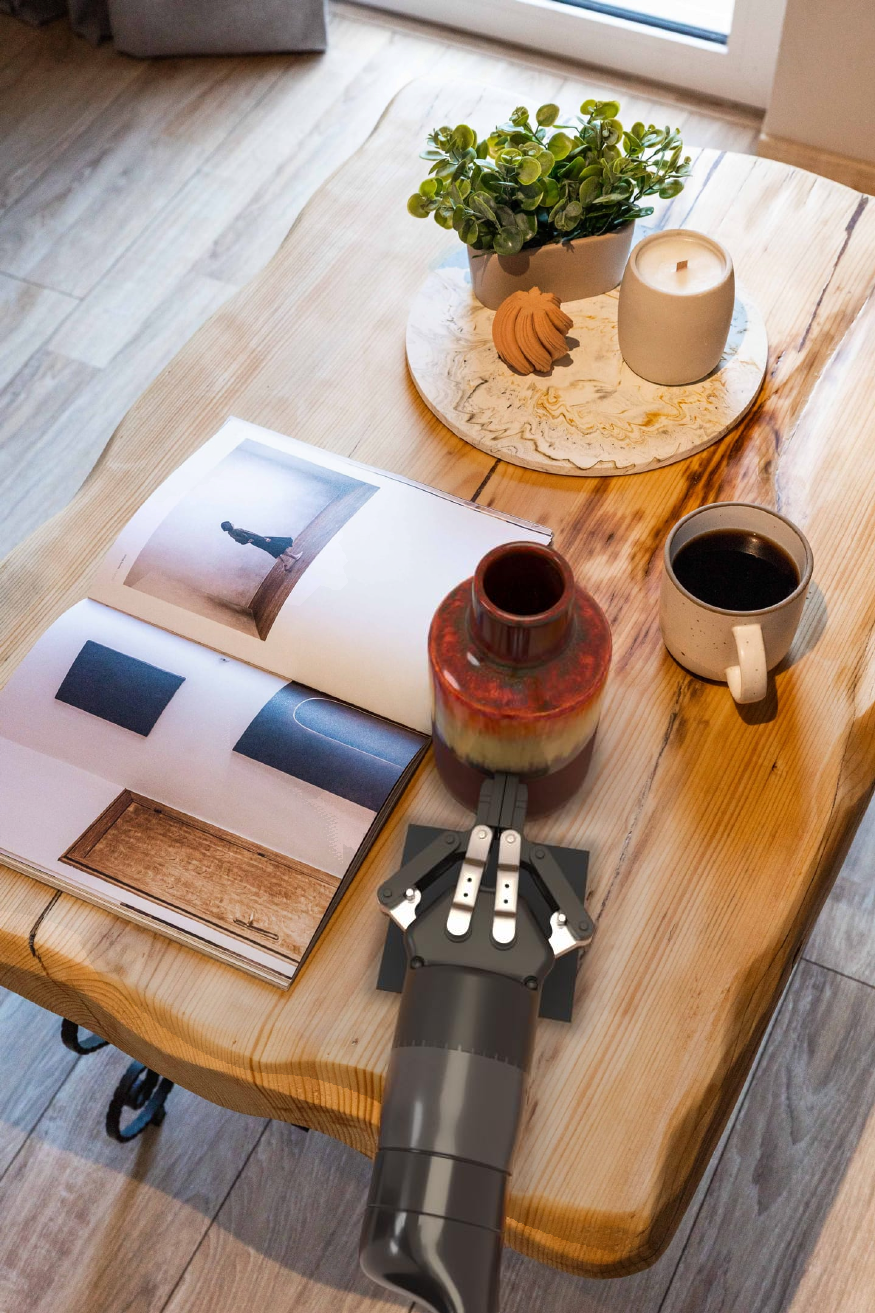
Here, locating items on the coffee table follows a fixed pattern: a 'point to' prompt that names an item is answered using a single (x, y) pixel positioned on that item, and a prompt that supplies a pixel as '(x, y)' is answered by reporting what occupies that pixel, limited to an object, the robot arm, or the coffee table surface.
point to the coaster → (571, 862)
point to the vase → (518, 677)
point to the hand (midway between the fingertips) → (506, 777)
